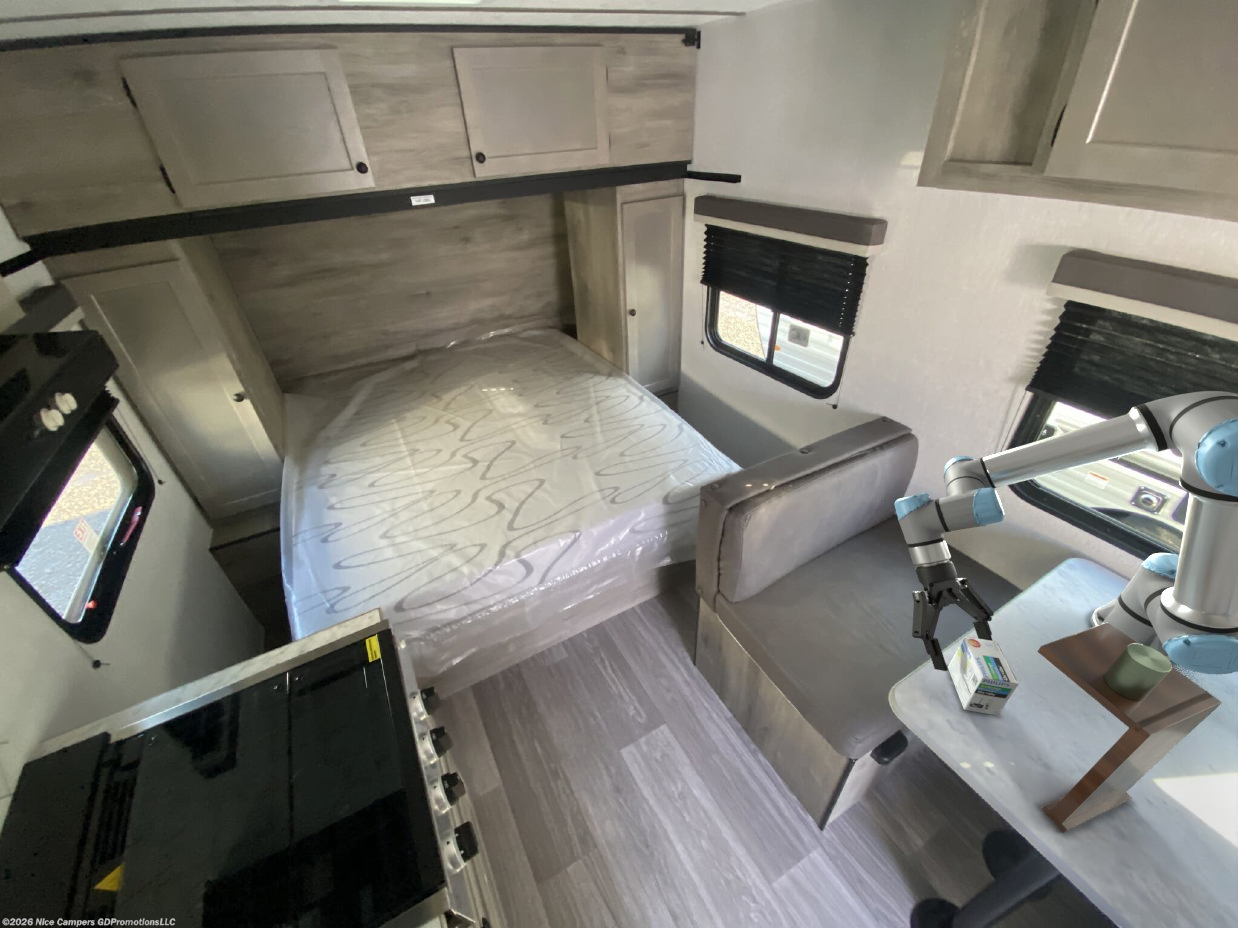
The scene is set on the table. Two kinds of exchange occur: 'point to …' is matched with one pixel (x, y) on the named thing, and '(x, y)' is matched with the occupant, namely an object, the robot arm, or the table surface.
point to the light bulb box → (982, 676)
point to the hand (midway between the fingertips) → (966, 660)
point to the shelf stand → (1124, 714)
